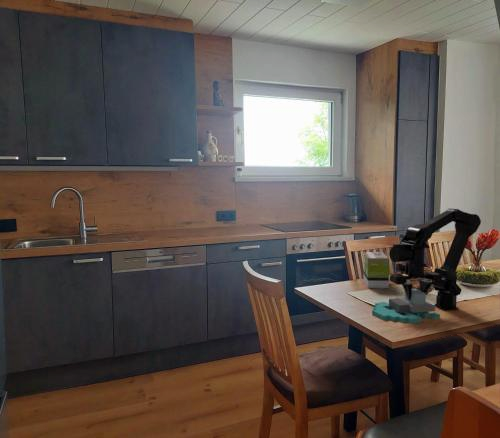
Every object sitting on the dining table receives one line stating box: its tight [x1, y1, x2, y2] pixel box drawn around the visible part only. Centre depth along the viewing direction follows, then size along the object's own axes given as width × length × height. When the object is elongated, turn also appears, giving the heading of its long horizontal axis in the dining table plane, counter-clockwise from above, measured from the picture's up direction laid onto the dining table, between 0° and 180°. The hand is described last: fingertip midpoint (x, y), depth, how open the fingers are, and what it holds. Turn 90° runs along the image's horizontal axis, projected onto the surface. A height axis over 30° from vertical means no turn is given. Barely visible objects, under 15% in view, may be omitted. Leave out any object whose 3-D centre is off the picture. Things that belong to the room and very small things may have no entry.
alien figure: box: [371, 301, 441, 324], centre depth 151 cm, size 20×2×20 cm
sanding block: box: [397, 288, 436, 313], centre depth 152 cm, size 9×12×6 cm
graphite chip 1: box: [388, 297, 403, 309], centre depth 153 cm, size 4×4×3 cm
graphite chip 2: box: [394, 301, 409, 313], centre depth 149 cm, size 4×4×3 cm
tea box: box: [363, 251, 390, 289], centre depth 192 cm, size 15×10×15 cm, turn 172°
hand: (415, 299), depth 152 cm, fingers closed on sanding block, 4 cm apart
